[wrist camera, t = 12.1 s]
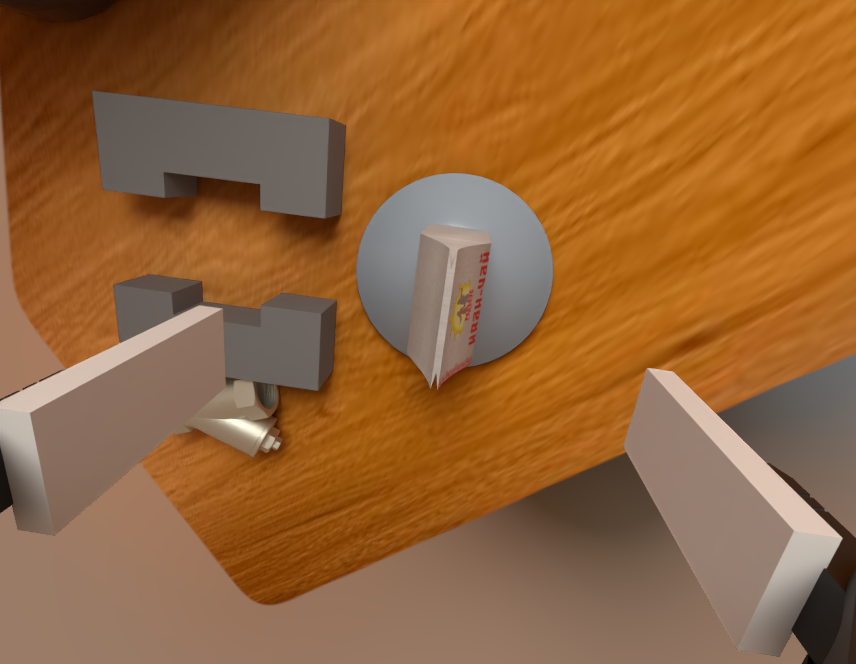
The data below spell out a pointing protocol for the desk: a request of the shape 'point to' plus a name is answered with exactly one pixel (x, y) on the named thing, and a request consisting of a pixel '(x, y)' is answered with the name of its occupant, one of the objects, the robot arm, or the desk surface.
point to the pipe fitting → (240, 416)
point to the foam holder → (279, 192)
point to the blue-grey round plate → (506, 272)
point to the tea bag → (447, 299)
